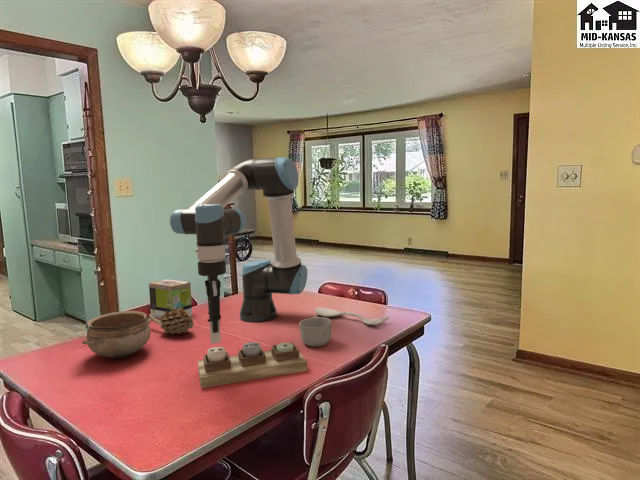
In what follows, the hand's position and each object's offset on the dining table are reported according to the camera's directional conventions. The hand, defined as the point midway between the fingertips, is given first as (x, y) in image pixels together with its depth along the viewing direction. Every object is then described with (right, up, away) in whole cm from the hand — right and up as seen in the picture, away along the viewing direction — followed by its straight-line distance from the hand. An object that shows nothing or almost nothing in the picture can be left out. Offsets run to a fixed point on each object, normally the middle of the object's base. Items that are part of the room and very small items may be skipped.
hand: (215, 342), depth 124 cm
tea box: (-33, -3, +61) cm, 69 cm away
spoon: (+41, -3, +51) cm, 65 cm away
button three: (+10, -5, +4) cm, 12 cm away
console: (+10, -9, +5) cm, 14 cm away
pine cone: (-27, -6, +40) cm, 48 cm away
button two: (0, -5, +1) cm, 5 cm away
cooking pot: (-35, -9, +19) cm, 41 cm away
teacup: (+28, -6, +27) cm, 40 cm away
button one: (+19, -6, +8) cm, 21 cm away
